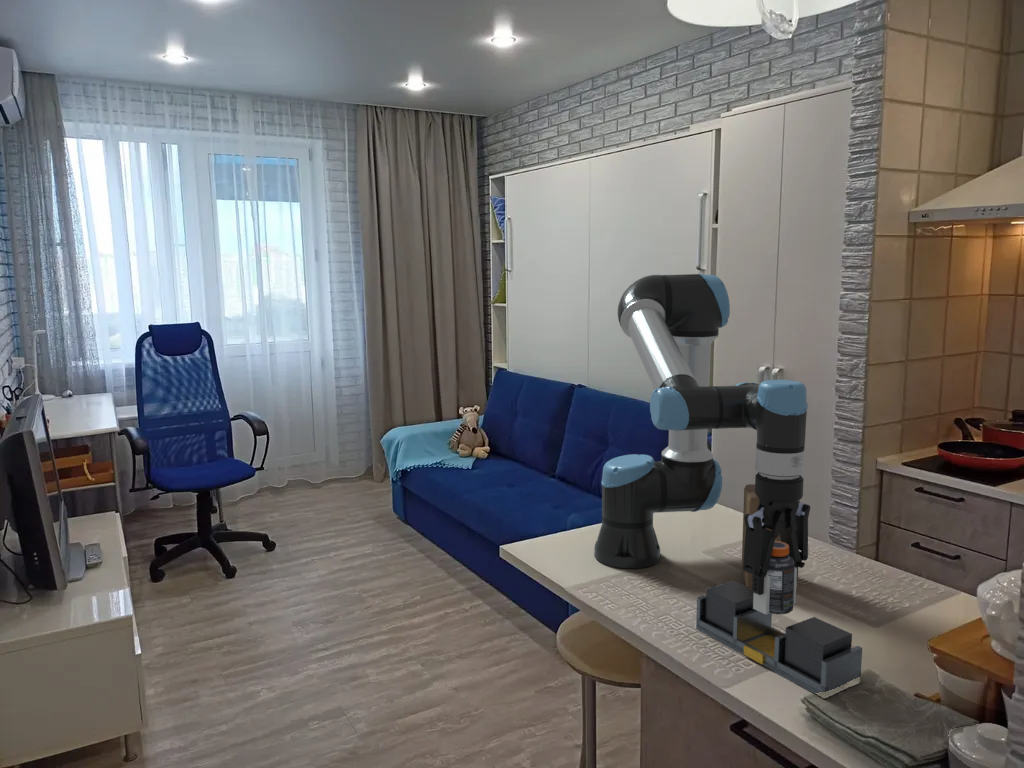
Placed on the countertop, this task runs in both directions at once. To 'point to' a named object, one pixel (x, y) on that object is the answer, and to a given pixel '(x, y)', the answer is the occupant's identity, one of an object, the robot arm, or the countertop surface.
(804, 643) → the rack
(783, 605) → the pill bottle
